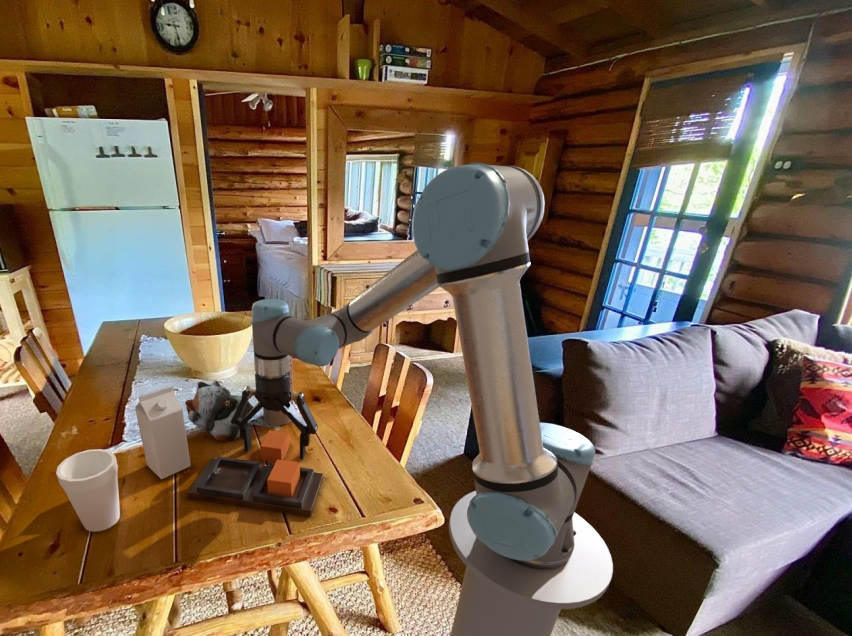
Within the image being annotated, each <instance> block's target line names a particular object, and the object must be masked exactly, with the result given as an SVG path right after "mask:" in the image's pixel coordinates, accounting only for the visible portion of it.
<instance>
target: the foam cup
mask: <svg viewBox="0 0 852 636" xmlns="http://www.w3.org/2000/svg"><path fill="white" fill-rule="evenodd" d="M118 472H119V466H118V461H117V457H116V455H115V454H114V453H113V452H112V451H111V450H107V449H103V448H97V449H95V448H94V449H86V450H83V451H80V452H76V453H74V454H72V455H70V456H68V457H67V458H65V459H64V460H63V461H61V463H60V464H59V465H57V468H56V472H55V475H56V479H57V480H58V484H59V486H60V487H61V488H62V489H63V491H64V493H65V495H66V496H67V499H68V500H69V502H70V504H71V506H72V508H73V509H74V511H75V513H76V515H77V517H78V518H79V520H80V523H81V525H82V526H83V527H84V529H85V530H86V531H89V532H92V533H95V532H102V531H105V530H107V529H110V528H111V527H113V526H114V525H115V524H117V523H118V521H119V520H120V518H121V517H120V516H121V507H120V495H119V493H120V492H119V480H118Z"/></svg>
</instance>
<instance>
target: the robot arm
mask: <svg viewBox="0 0 852 636" xmlns="http://www.w3.org/2000/svg"><path fill="white" fill-rule="evenodd" d="M545 203H546V202H545V195H544V192H543V188H542V186H541V184H540V183H539V181H538V180H537V179H536V177H535V176H534V175H533V174H532V173H530V172H529V171H528V170H526V169H524V168H521V167H519V166H515V165H508V164H507V165H506V164H505V165H504V164H503V165H496V164H495V165H494V164H486V163H484V162H470V163H467V164H463V165H461V164H460V165H456V166H452V167H450V168H447V169H444V170H443V171H441V172H439V173H438V174H437V175H436V176H434V177H433V178H432V179H431V180H430V181H429V182H428V183H427V184H426V186H425V187H424V188H423V190H422V192H421V193H420V196H419V197H418V199H417V200H416V203H415V206H414V208H413V209H414V210H413V213H412V220H411V233H412V238H413V243H414V246H415V247H416V250H415V251H413V252H412V253H411V254H410V255H409V256H407V257H406V258H405V259H403V260H402V261H400V262H399V263H398V264H397V265H395V266H394V267H393V268H392V269H390V270H389V271H388V272H387V273H385V274H383V275H382V276H381V277H380V278H379V279H377V280H376V281H375V282H373V283H372V284H371V285H370V286H368V287H367V288H366V289H364V290H363V291H362V292H361V293H359V294H358V295H357V296H355V297H354V298H353V299H351V301H349V302H347V303H346V304H345V305H344V306H343V307H341V308H340V309H338V310H335V311H332V312H329V313H327V314H326V313H325V314H323V315H321V316H317V317H314V318H311V319H309V320H304V319H301V318H297V317H294V316H292V315H290V313H291V312H290V307H289V303H287V302H286V301H285V300H283V299H278V298H266V299H260V300H258V301H255V302H254V303H252V306H251V321H250V323H251V329H252V345H253V365H254V372H255V373H254V382H255V383H254V385H255V389H253V388H251V386H249V385H247V386H246V387H245V388H244V389H243V390H242V391H241V396H242V399H241V401H240V404H239V406H238V408H237V410H236V412H235V414H234V416H233V418H232V420H231V423H232V424H237V425H238V426H239V430H240V436H239V437H240V438H241V439H243V446H244V447H243V449H244V453H248V452H249V451H250V449H251V447H252V432H251V431H252V430H251V423H250V421H251V419H253V417H254V416H255V415H256V414H257V413H258V412H260V411H261V410H263V408H264V409H266V410H268V411H270V410H273V411H277V412H279V411H282V412H283V414H284V415H287V416H288V417H289V419H290V420H291V422H292V423H293V425H294V426H295V427H296V428H297V429H298V430H299V432H300V434H299V460H304V458H305V455H306V452H307V451H306V450H307V448H306V447H309V445H310V443H311V435H316V433H317V431H318V429H319V426H318V423H317V421H316V420H315V417H314V415H313V413H312V412H311V409H310V408H309V406H308V404H307V402H306V397H305V393H304V392H303V391H300V392H299V393H293V394H292V393H291V392H290V373H289V370H290V359H289V356H291V357H292V358H293V359H295V360H296V359H297V360H298V361H301V362H302V363H305V364H309V365H312V366H315V367H316V366H317V367H326V366H327V365H329V364H331V362H332V360H334V359H335V358H336V357H337V354H338V352H339V350H340V349H342V348H343V347H346V346H348V345H351V344H354V343H358V342H361V341H363V340H364V339H366V338H368V337H369V336H370V335H371V334H372V333H373V331H374V330H375V329H377V328H378V327H380V326H382V325H383V324H385V323H386V322H388V321H389V320H391V319H392V318H394V317H395V316H397V315H399V314H400V313H401V312H403V311H405V310H406V309H408V308H410V306H412V305H413V304H415V303H417V302H419V301H420V300H422V299H423V298H425V297H426V296H428V295H429V294H431V293H432V292H434V291H436V290H437V289H439V288H441V289H442V290H444V291H445V292H446V293H448V294H450V296H451V298H452V303H453V309H454V313H455V319H456V321H455V322H456V327H457V331H458V337H459V342H460V348H461V355H462V359H463V365H464V371H465V375H466V376H465V377H466V382H467V387H468V394H469V398H470V405H471V411H472V417H473V421H474V426H475V432H476V438H477V445H478V449H479V453H478V455H477V456H476V457H475V458H474V459H473V461H472V462H471V470H472V475H473V482H474V487H475V491H476V496H474V497H473V498H472V499H471V500H470V502H469V503H470V504H469V506H468V509H467V519H468V522H469V525H470V527H471V529H472V531H473V532H474V534H475V535H476V536H477V537H478V539H479V540H480V541H481V542H483V543H485V544H486V545H487V546H488V547H489V548H490V549H491V550H493V551H495V552H496V553H498V554H500V555H502V556H505V557H507V558H509V559H511V560H513V561H514V562H517V563H519V564H521V565H524V566H527V567H531V568H536V569H554V568H558V567H561V566H563V565H564V564H566V563H567V562H568V561H569V559H570V557H571V555H572V552H573V550H574V536H575V535H576V532H575V531H574V530H573V521H572V517H573V514H574V512H575V511H576V509H577V505H578V503H579V500H580V497H581V495H582V492H583V489H584V486H585V484H586V481H587V478H588V475H589V473H590V470H591V467H592V466H593V465H594V463H595V461H594V459H595V454H596V448H595V445H594V444H593V443H592V442H591V441H590V440H589V439H588V438H587V437H585V436H584V435H583V434H581V433H579V432H578V431H577V432H576V431H575V430H573V429H571V428H567V427H565V426H562V425H558V424H555V423H548V422H540V416H539V410H538V402H537V395H536V387H535V380H534V375H533V373H534V372H533V367H532V360H531V353H530V347H529V345H530V344H529V340H528V339H529V337H528V332H527V326H526V325H527V324H526V317H525V311H524V304H523V298H522V289H521V283H520V281H521V278H522V277H523V275H525V273H526V272H527V270H528V269H529V267H530V266H531V258H530V251H529V244H528V243H529V242H528V241H529V240H530V239H531V238H532V237H533V236H534V235H535V234H536V232H537V231H538V229H539V227H540V225H541V223H542V221H543V217H544V214H545V205H546V204H545ZM252 397H254V398H255V399H256V401H257V403H256V404H255V405H254V406H253V408H252V409H251V410H250V411H249V412H248V413H247V414H246V416H245V417H243V419H242V418H240V416H241V414H242V412H243V410H244V408H245V406H246V404H247V402H249V400H250V399H252ZM291 400H293V405H292V404H291V403H290V401H291ZM294 405H296V406H297V407H296V408H297V409H298V411H299V412H298V411H297V410H296V409H295V408H294ZM285 406H286V407H285Z"/></svg>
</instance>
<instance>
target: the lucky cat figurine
mask: <svg viewBox="0 0 852 636" xmlns="http://www.w3.org/2000/svg"><path fill="white" fill-rule="evenodd" d="M241 399H242V395H238V394H231V391H230V390H229V389H227V387H225V386H223V385H221V383H220V382H219V381H218V380H216V379H215V380H213V381H212V383H211V384H209V383H206V382H204V381H200V382H199V381H198V383H197V388H196V392H195V395H194V396H193V397H192V398H191V399H186V400H185V402H184V403H185V407H186V411H187V417H188V420H189V421H190V422H191V423H192V424H193V425H194V426H196V427H198V428H200V429H201V430H203V431H205V432H207V433H208V434H210V435H211V436H213V438H214V439H215V440H217V441H219V442H228V441H234V440H235V439H238V438H239V437H240V430H239V426H238V425H237V424H232V423H231V420H232V418H233V416H234V414H235V412H236V410H237V408H238V406H239V404H240V401H241ZM253 407H254V406H253V405H252V404H251V402H249V401H248V402H247V404H246V406H245V408H244V410H243V412H242V414H241V416H240V418H242V419H243V417H245V416H246V414H247V413H248V412H249V411H250V410H251V409H252V408H253Z"/></svg>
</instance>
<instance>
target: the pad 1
mask: <svg viewBox="0 0 852 636" xmlns="http://www.w3.org/2000/svg"><path fill="white" fill-rule="evenodd" d="M289 448H290V432H288V431H287V432H285V431H278V430H270V429H269V430H268V431H267V433H266V435H265V437H264V439H263V441H262V442H261V444H260V446H259V452H260V461H262V462H270V463H276V461H277V460H284V459H285V457H286V454H287V453H288V450H289Z"/></svg>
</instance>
